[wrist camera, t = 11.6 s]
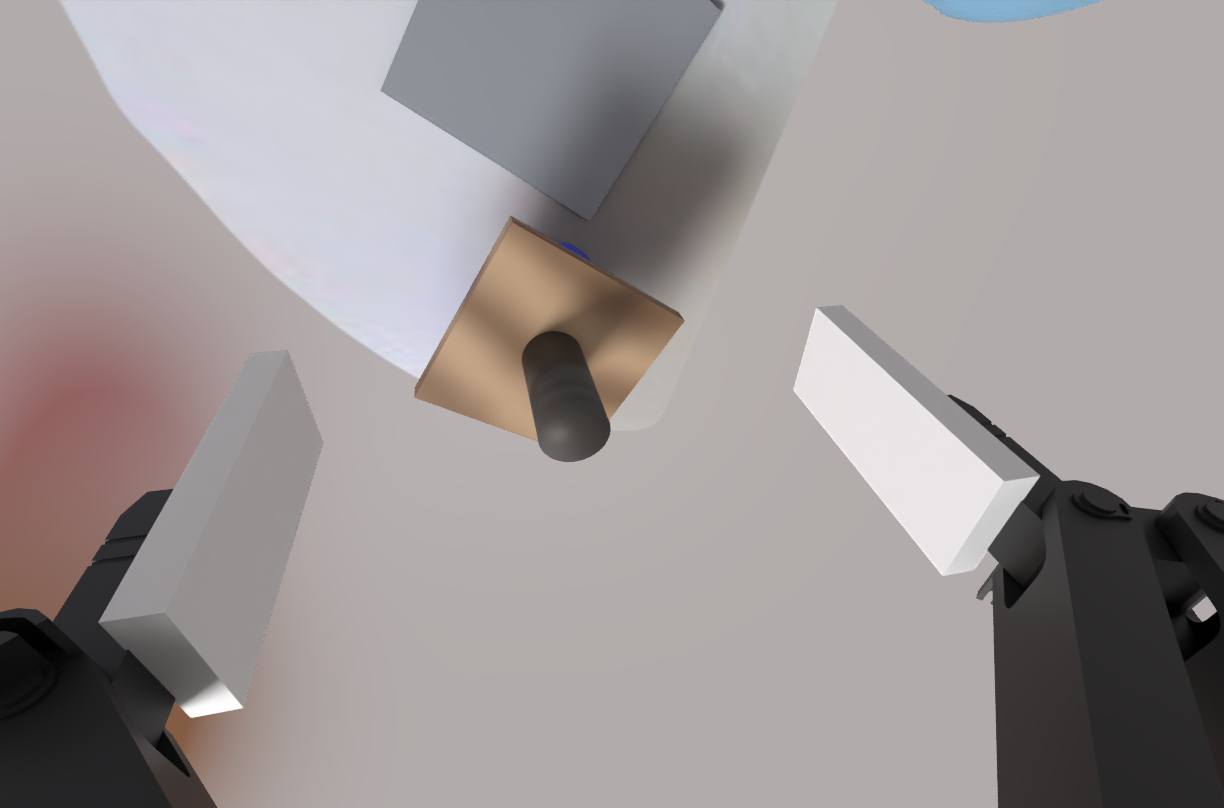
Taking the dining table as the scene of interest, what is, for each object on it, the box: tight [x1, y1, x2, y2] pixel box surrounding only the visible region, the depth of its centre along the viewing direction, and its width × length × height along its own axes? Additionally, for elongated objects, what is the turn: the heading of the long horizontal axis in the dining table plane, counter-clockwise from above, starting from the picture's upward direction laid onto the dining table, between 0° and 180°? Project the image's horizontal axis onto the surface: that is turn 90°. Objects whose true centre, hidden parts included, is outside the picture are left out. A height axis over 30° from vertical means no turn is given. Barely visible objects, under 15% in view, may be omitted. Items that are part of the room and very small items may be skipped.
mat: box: [381, 0, 721, 222], centre depth 35 cm, size 16×16×1 cm
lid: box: [415, 216, 685, 462], centre depth 33 cm, size 13×13×9 cm
